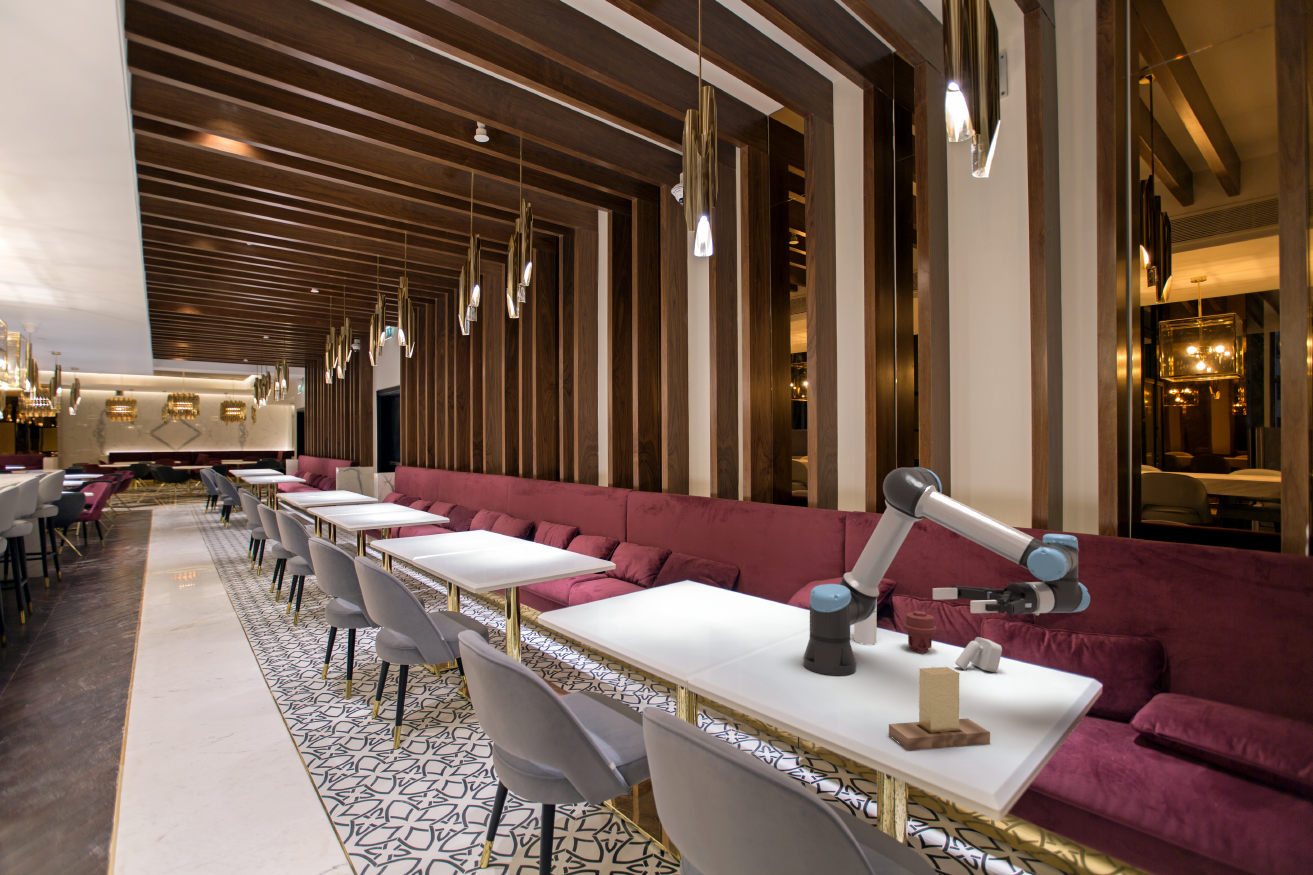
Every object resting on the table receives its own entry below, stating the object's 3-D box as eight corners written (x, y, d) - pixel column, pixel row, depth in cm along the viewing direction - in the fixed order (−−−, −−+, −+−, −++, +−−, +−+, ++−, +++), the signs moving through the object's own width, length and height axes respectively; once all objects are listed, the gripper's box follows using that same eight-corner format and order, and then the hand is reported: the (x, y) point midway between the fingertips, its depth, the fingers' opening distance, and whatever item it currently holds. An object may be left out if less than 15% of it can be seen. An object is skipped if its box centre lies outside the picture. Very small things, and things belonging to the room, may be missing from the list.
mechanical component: (932, 647, 201) (940, 656, 191) (900, 644, 203) (906, 653, 193) (932, 609, 201) (940, 617, 192) (900, 607, 203) (906, 614, 194)
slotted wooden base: (907, 750, 128) (907, 738, 128) (888, 735, 135) (888, 723, 135) (989, 743, 132) (989, 731, 132) (967, 729, 139) (967, 718, 139)
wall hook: (947, 662, 184) (954, 630, 184) (978, 670, 184) (985, 638, 185) (962, 671, 176) (970, 638, 176) (995, 680, 176) (1003, 646, 177)
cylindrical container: (876, 639, 208) (876, 566, 209) (876, 645, 201) (877, 570, 202) (854, 637, 210) (855, 565, 211) (854, 643, 203) (854, 568, 204)
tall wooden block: (930, 744, 131) (930, 674, 131) (919, 736, 135) (919, 668, 135) (959, 742, 132) (959, 673, 133) (946, 734, 136) (947, 666, 136)
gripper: (1070, 627, 138) (989, 630, 134) (990, 601, 162) (919, 603, 158) (1070, 593, 138) (989, 596, 134) (990, 573, 163) (919, 574, 158)
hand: (951, 600), depth 146 cm, fingers open, 13 cm apart
